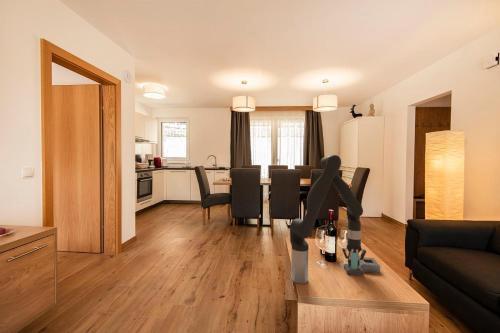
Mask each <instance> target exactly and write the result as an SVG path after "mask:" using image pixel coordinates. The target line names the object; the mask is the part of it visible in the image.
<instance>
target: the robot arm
mask: <svg viewBox="0 0 500 333" xmlns="http://www.w3.org/2000/svg"><path fill="white" fill-rule="evenodd" d="M320 167H321V169H322V170H323V171H322V173H321V175H320V176H319V177H318V178H317V180H316V181H315V182H314V183H313V184H312V185H311V186H310V187H311V188H310V190H309V192H308V193H307V198H306V207H307V208H306V213H305V215H304V218H303V219H301V218H295V219H292V221H291V222H290V225H289V240H290V241H289V242H290V244H291V245H290V246H291V262H290V264H291V265H290V272H291V273H290V280H291V281H292V282H293V283H294V284H295V283H296V284H304V285H305V284H306V283H308V282H309V243H308V242H307V241H306V240H305V239H308V238H309V237H310V235H312V232H313V230H314V226H315V223H316V220H317V217H318V215H319V213H320V210H321V207H322V205H323V203H324V201H325V199H326V198H327V197H326V196H327V194H328V191H329V190H330V187H331V185H332V184H333V186H334V188H336V190H337V193H338V195H339V196H340V198H341V201H343V202H344V203H345V204H346V205H347V206H346V210H345V211H346V216H347V217H346V218H347V235H346V237H347V239H346V240H347V242H346V243H347V245H346V247H341V250H342V253H343V256H344V258H345V259H347V264H349V266H351V253H353V252H354V253H358V266H359V262H360V260H363V258H364V257H365V256H366V254H367V250H366V249H365V248H363V247H362V230H361V229H362V222H361V220H360V219H359V217H361V216H362V215H363V213H364V208H363V206H362V204H361V203H360V202H359V200H358V199H357V198H356V196H355V195H354V193H353V191H352V189H351V187H350V186H349V184H348V183H347V182H346V181H345V180H344V179H343V178H341V176H340V175H339V173H338V172H339V170H340V169H341V167H342V159H341V157H340V156H339V155H336V154H332V155H328V156H325V157H322V158H321V159H320ZM347 251H348V254H347ZM359 253H361V254H359Z"/></svg>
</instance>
